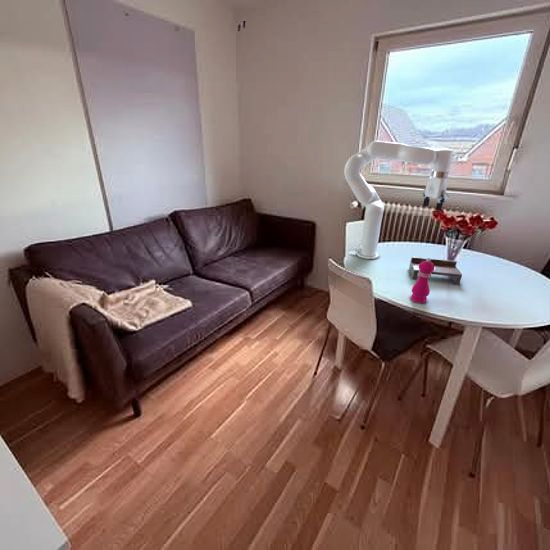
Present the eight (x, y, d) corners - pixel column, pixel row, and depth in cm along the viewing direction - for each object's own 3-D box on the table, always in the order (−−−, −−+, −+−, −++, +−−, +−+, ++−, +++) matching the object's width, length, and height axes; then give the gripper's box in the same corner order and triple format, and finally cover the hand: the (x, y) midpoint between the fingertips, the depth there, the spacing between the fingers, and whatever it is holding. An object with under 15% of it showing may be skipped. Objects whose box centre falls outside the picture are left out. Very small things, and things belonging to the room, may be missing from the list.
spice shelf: (412, 279, 158) (415, 265, 155) (408, 270, 169) (411, 256, 165) (459, 284, 154) (463, 270, 150) (452, 275, 164) (456, 261, 161)
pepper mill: (408, 300, 138) (417, 258, 129) (411, 294, 143) (421, 253, 135) (425, 305, 134) (436, 262, 126) (428, 298, 140) (439, 257, 131)
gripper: (422, 172, 165) (415, 205, 172) (446, 177, 150) (437, 212, 157) (433, 172, 167) (426, 204, 174) (458, 177, 152) (449, 211, 159)
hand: (431, 208), depth 166 cm, fingers open, 9 cm apart
